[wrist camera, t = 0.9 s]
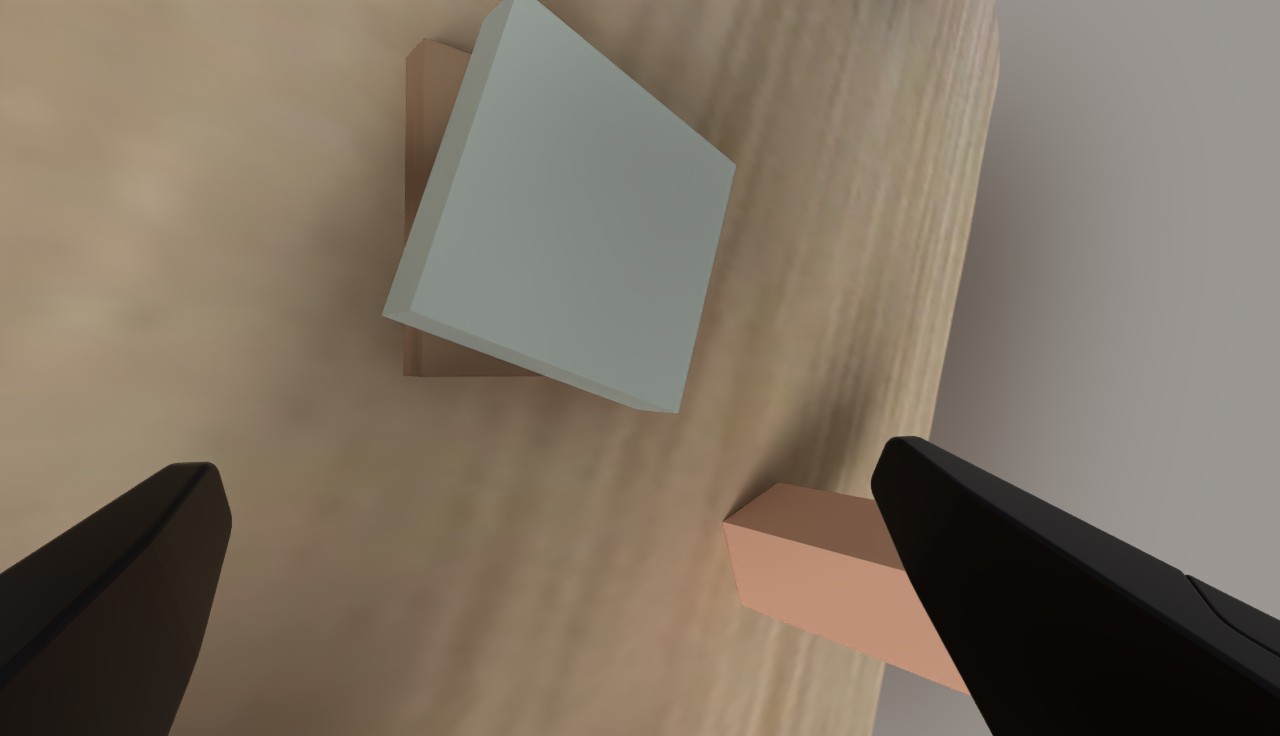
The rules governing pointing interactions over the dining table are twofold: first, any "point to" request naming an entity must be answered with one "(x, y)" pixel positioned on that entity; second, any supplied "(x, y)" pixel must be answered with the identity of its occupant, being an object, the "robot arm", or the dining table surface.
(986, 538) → the robot arm
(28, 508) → the dining table surface
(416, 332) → the slab lower
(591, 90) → the slab upper
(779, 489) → the terracotta block
